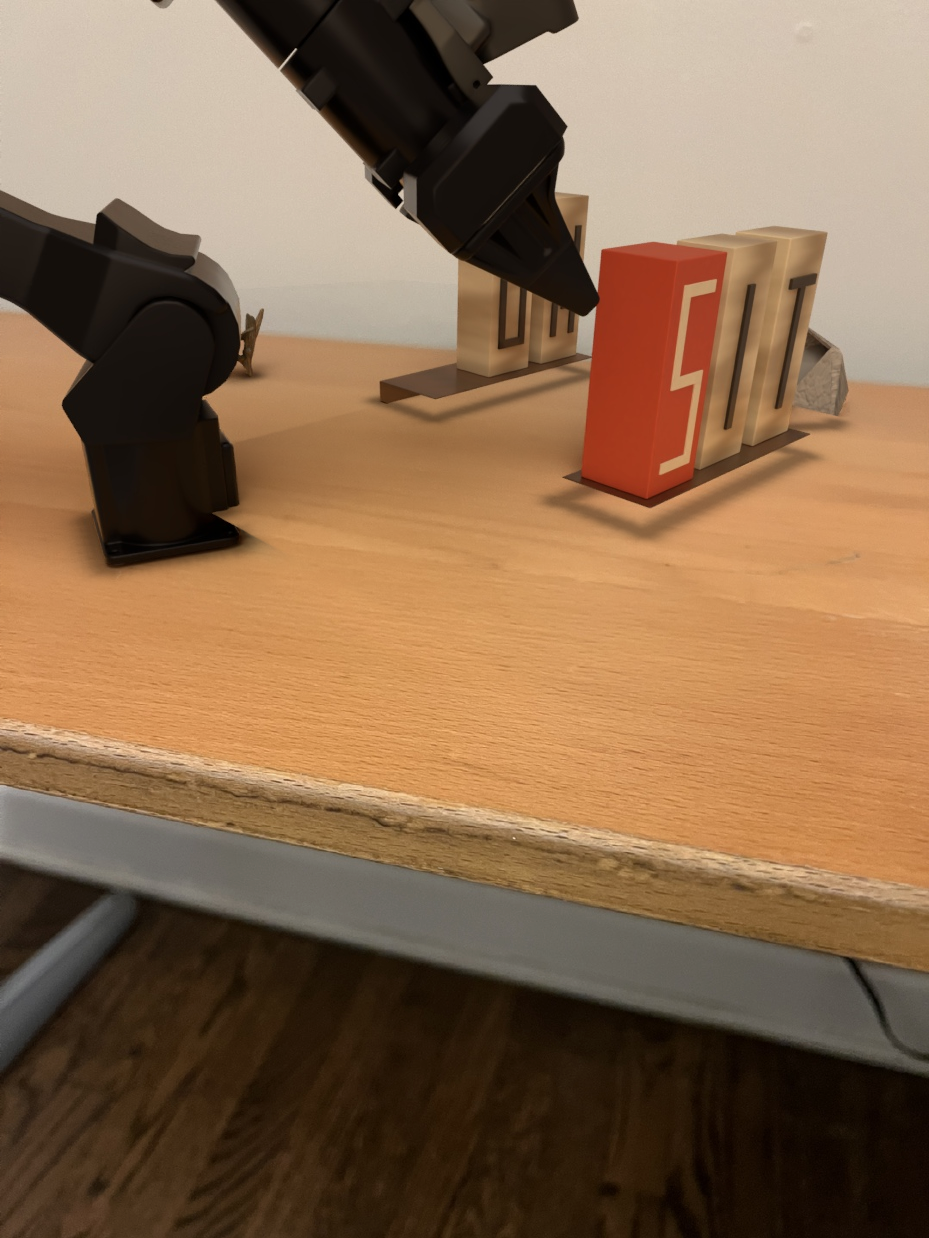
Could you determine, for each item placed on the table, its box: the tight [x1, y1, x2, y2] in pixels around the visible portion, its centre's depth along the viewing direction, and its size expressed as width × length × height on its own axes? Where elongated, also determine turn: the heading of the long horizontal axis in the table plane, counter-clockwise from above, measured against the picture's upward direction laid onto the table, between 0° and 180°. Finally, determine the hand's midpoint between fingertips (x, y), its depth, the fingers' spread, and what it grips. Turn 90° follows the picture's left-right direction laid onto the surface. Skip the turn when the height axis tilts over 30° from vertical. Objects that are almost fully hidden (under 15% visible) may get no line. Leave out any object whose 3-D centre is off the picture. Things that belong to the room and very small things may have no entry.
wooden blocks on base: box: [379, 191, 592, 404], centre depth 69 cm, size 18×6×14 cm, turn 135°
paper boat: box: [792, 326, 849, 417], centre depth 67 cm, size 12×6×9 cm
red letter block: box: [580, 241, 727, 499], centre depth 48 cm, size 4×5×12 cm
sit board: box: [562, 225, 828, 509], centre depth 52 cm, size 18×6×14 cm, turn 135°
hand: (562, 289), depth 45 cm, fingers open, 9 cm apart
